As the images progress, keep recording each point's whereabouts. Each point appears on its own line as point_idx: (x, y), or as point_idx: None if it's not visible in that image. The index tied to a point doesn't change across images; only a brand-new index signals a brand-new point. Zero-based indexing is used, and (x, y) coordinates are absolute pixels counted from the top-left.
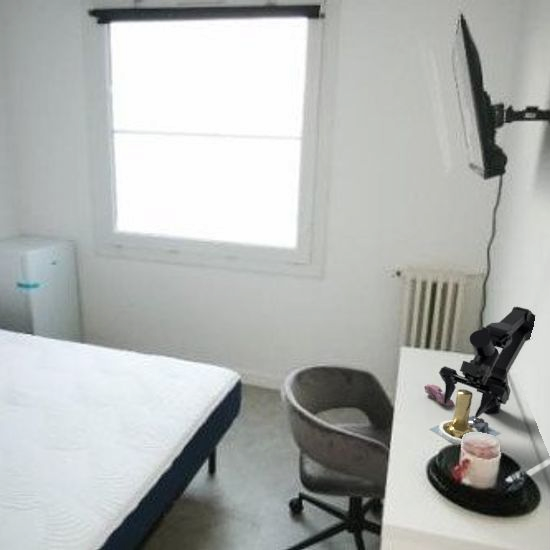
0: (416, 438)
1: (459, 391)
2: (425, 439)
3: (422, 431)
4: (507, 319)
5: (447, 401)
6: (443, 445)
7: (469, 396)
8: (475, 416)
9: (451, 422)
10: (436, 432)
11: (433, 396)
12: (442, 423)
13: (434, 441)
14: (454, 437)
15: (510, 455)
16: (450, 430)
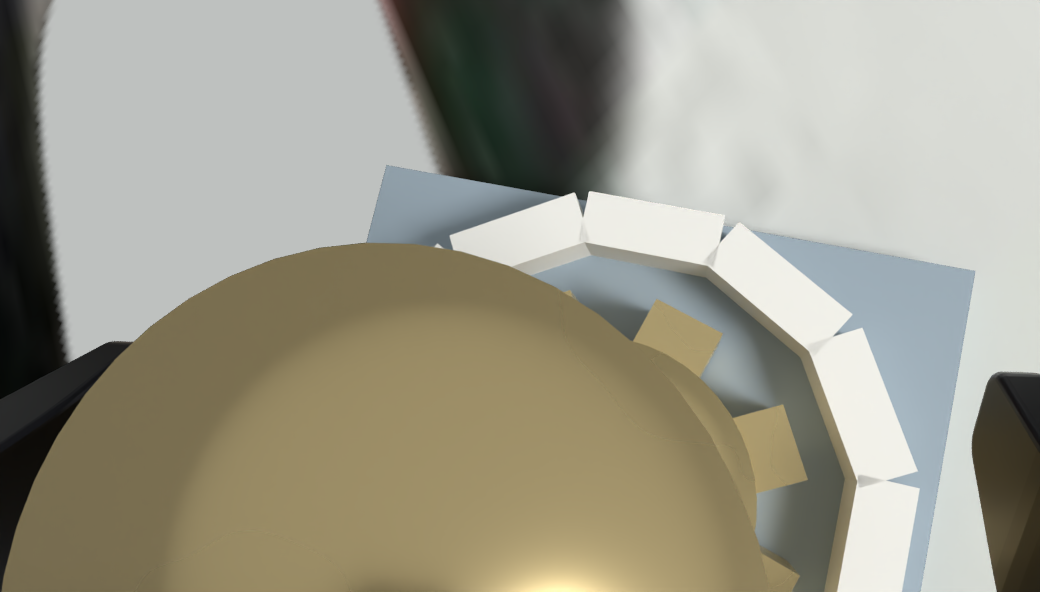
0: (983, 13)
1: (643, 549)
2: (884, 86)
3: (1033, 232)
4: None
5: (1001, 511)
6: (648, 145)
7: (77, 426)
8: None
9: (765, 570)
10: (843, 270)
11: None
12: (881, 485)
13: (775, 137)
14: (555, 240)
15: None
16: (656, 306)
